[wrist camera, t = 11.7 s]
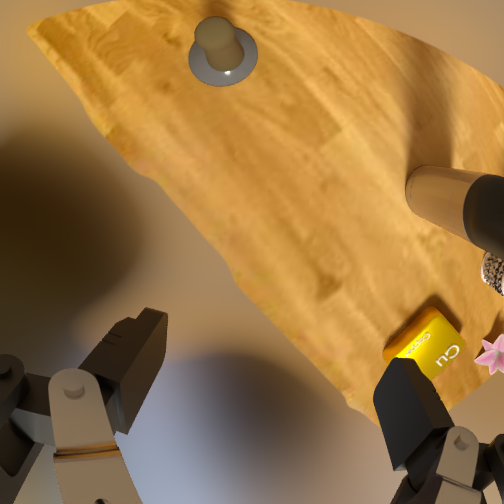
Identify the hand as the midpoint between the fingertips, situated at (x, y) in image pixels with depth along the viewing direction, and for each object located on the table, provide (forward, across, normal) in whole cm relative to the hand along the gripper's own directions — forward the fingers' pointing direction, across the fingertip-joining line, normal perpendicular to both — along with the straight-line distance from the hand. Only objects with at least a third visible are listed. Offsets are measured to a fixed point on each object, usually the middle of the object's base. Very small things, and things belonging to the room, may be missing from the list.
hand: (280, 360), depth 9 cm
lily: (+39, -60, +20) cm, 75 cm away
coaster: (+38, +13, -22) cm, 46 cm away
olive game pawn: (+38, +13, -22) cm, 45 cm away
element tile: (+39, -38, +22) cm, 59 cm away
